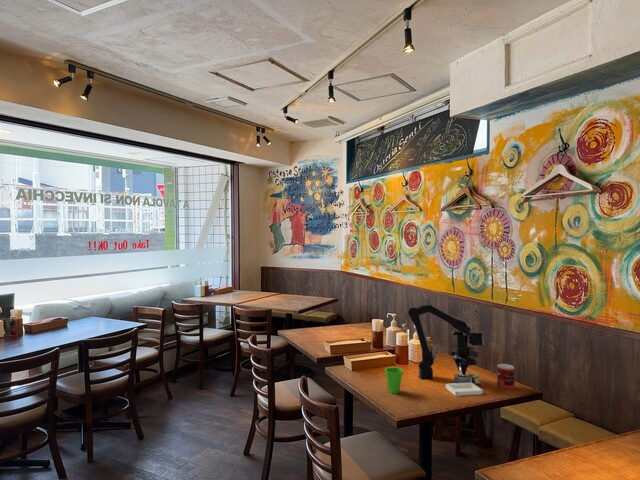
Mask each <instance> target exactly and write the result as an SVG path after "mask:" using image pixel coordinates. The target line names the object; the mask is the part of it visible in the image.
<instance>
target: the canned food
mask: <svg viewBox="0 0 640 480" xmlns="http://www.w3.org/2000/svg"><path fill="white" fill-rule="evenodd" d="M496 368H497V370H496V371H497V374H496V376H497V377H496V378H497V387H499V388H501V389H504V390H512V391H513V390H514V389H515V366H514V365H512V364H508V363H499V364H497V367H496Z"/></svg>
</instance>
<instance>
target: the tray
mask: <svg viewBox="0 0 640 480" xmlns="http://www.w3.org/2000/svg"><path fill="white" fill-rule="evenodd" d="M445 389H447V390H448V391H449V392H450V393H451V394H452V395H454V396H456V397H459V396H461V397H463V396H475V395H476V396H479V395H480V396H481V395H484V390H483V389H482V388H481V387H479V386H478V385H475V384H473V383H472V382H470V383H456V382H454V383H452V382H451V383H445Z"/></svg>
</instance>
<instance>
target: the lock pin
mask: <svg viewBox="0 0 640 480" xmlns="http://www.w3.org/2000/svg"><path fill="white" fill-rule="evenodd" d="M458 374H459V377H465V375H463V374H462V371H461V368H460V365H459V370H458Z"/></svg>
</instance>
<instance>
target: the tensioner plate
mask: <svg viewBox="0 0 640 480" xmlns="http://www.w3.org/2000/svg"><path fill="white" fill-rule="evenodd" d="M453 377H454V378H453V379H452V381H453V382H454V383H470V382H472V383H473V384H475V385H476V386H484V385H485V384H484V383H482V382H481V381H479V378H480V373H478V372H474V371H469V372H466V373H465V377H459V373H457V374H456V373H454V374H453Z"/></svg>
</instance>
